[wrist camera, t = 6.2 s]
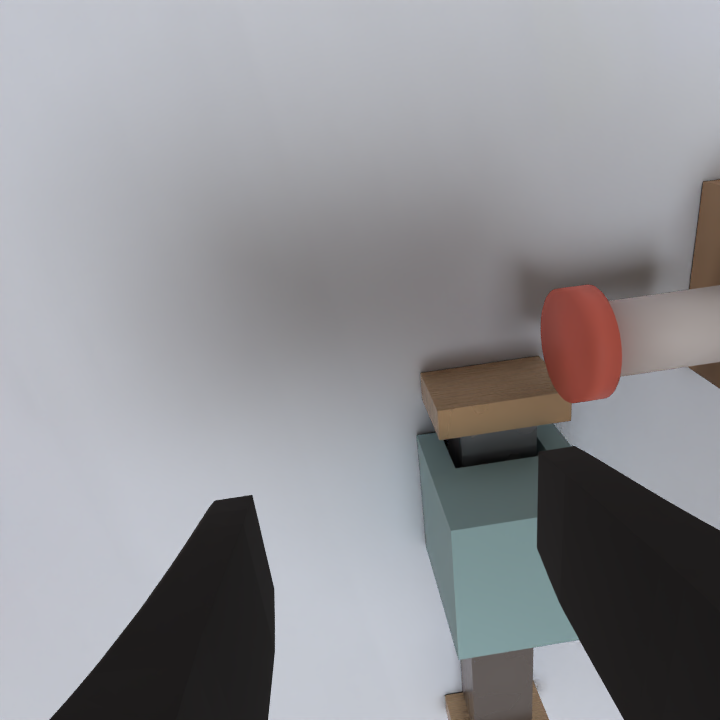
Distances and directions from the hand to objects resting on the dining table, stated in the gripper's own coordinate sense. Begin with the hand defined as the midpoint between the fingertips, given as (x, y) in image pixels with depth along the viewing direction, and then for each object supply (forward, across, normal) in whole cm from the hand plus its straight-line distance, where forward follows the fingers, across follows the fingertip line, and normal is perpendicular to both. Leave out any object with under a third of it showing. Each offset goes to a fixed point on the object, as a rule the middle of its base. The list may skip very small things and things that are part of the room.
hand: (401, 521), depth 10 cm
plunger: (+7, -8, 0) cm, 11 cm away
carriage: (+9, -4, +7) cm, 12 cm away
